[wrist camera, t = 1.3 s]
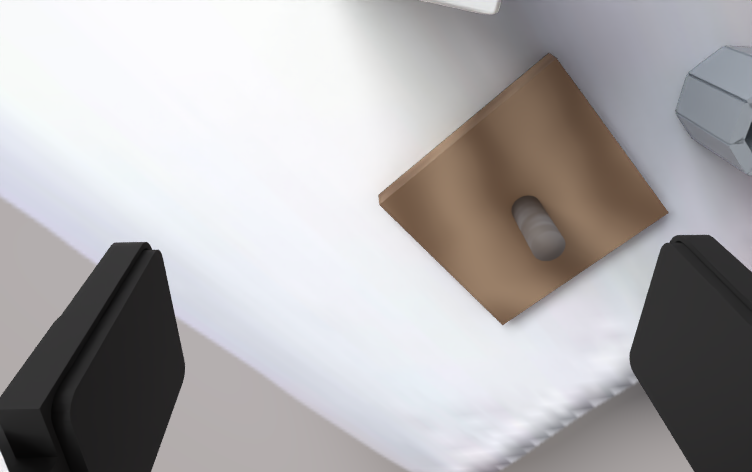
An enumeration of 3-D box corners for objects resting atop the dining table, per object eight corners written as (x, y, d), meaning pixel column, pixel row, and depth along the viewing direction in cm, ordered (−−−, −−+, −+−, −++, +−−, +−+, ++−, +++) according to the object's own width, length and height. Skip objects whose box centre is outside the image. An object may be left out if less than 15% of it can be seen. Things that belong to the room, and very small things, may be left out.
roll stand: (548, 52, 35) (587, 80, 29) (658, 202, 40) (708, 250, 35) (378, 194, 39) (383, 242, 33) (498, 313, 44) (519, 371, 39)
